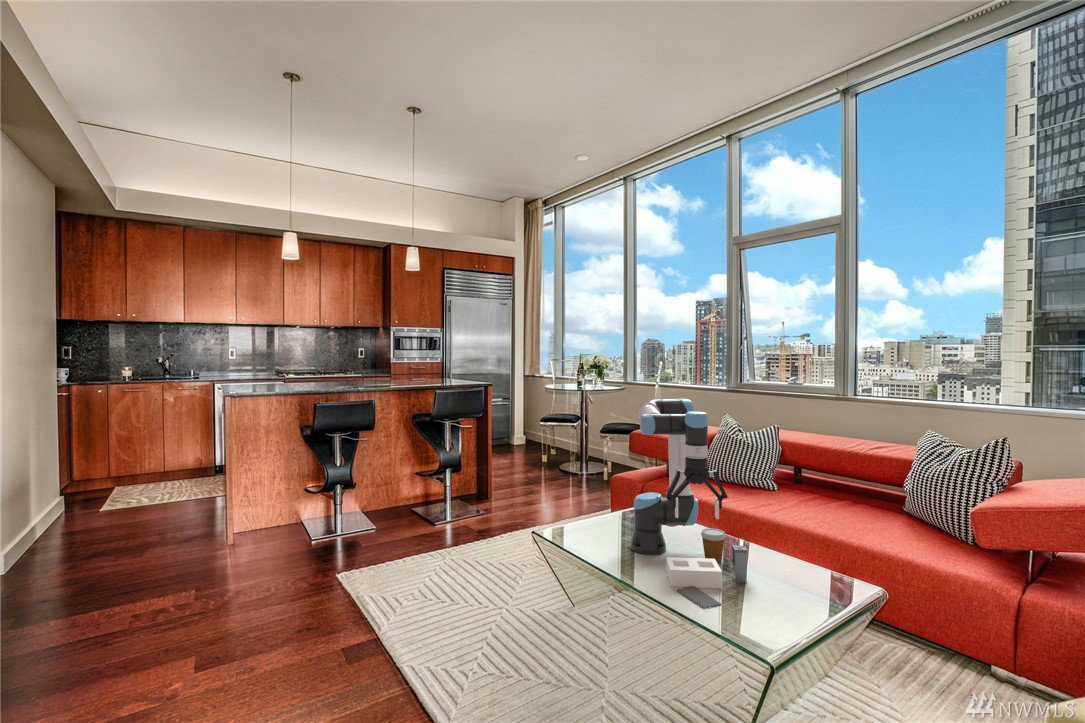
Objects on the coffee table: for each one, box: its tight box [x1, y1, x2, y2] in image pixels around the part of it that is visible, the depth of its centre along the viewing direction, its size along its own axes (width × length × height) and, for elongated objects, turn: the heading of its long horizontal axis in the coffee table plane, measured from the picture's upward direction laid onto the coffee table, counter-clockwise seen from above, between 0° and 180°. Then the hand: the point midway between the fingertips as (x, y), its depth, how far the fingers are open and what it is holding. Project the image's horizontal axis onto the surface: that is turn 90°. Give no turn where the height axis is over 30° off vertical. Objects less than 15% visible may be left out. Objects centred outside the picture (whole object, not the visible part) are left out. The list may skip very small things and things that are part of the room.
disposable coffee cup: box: [700, 527, 726, 565], centre depth 210 cm, size 10×10×12 cm
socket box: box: [665, 556, 723, 589], centre depth 192 cm, size 12×18×6 cm
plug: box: [731, 544, 748, 583], centre depth 192 cm, size 4×4×12 cm
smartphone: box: [676, 586, 722, 609], centre depth 178 cm, size 8×1×15 cm
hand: (696, 517), depth 180 cm, fingers open, 13 cm apart
